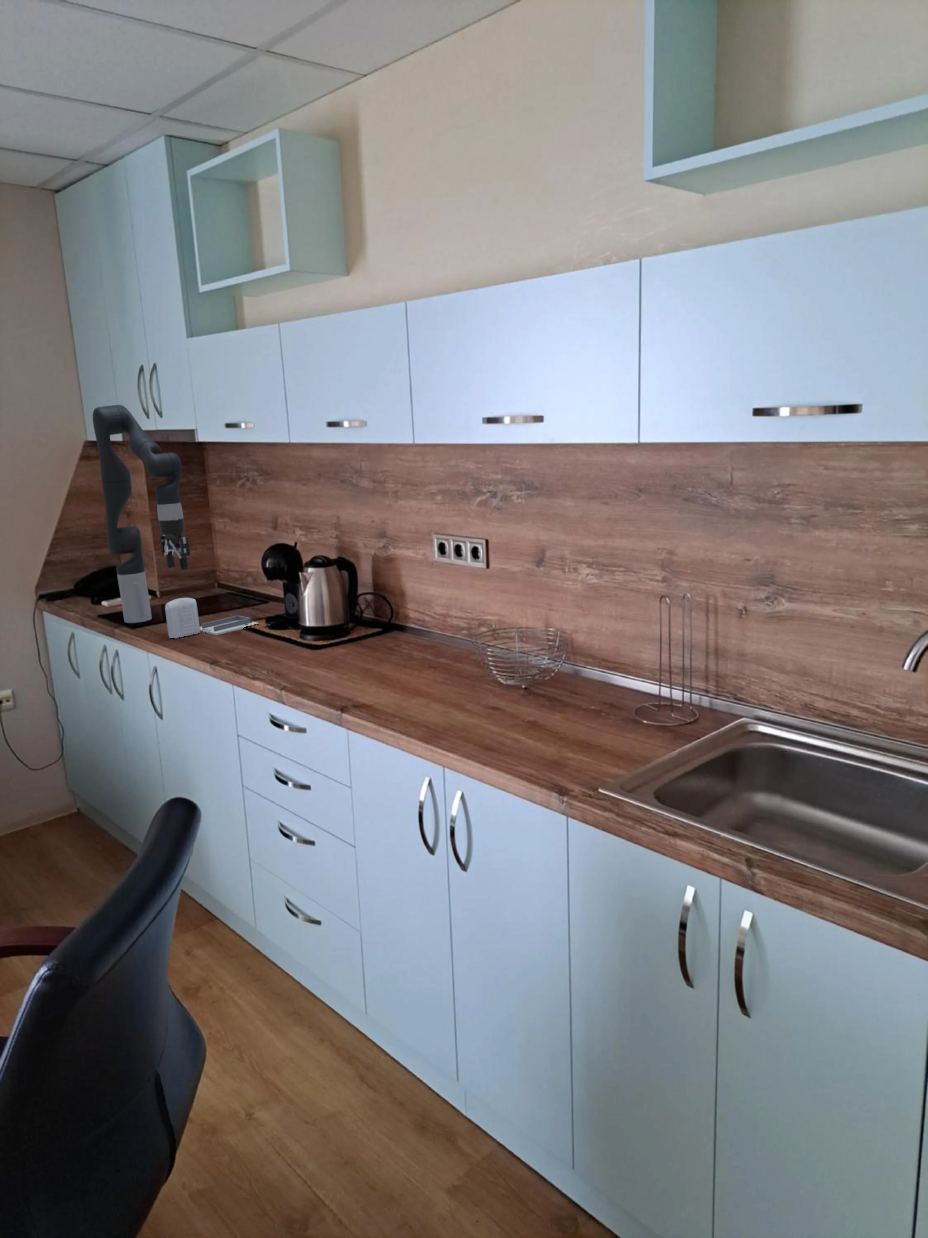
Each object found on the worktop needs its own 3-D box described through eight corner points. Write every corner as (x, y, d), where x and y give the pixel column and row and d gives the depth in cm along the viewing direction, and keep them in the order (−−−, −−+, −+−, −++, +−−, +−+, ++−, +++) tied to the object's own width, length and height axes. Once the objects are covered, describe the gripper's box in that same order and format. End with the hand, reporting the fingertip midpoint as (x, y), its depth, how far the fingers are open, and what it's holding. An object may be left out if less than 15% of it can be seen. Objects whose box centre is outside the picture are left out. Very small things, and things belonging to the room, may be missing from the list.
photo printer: (196, 631, 295) (191, 594, 292) (202, 633, 292) (197, 596, 289) (166, 638, 288) (161, 600, 286) (173, 640, 285) (167, 602, 283)
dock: (194, 629, 298) (193, 623, 297) (236, 619, 309) (235, 613, 308) (215, 635, 288) (214, 628, 288) (258, 624, 299) (257, 618, 298)
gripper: (148, 518, 284) (156, 568, 288) (170, 520, 275) (177, 572, 278) (170, 515, 290) (177, 564, 293) (192, 517, 280) (199, 568, 283)
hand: (177, 568), depth 286 cm, fingers open, 8 cm apart
